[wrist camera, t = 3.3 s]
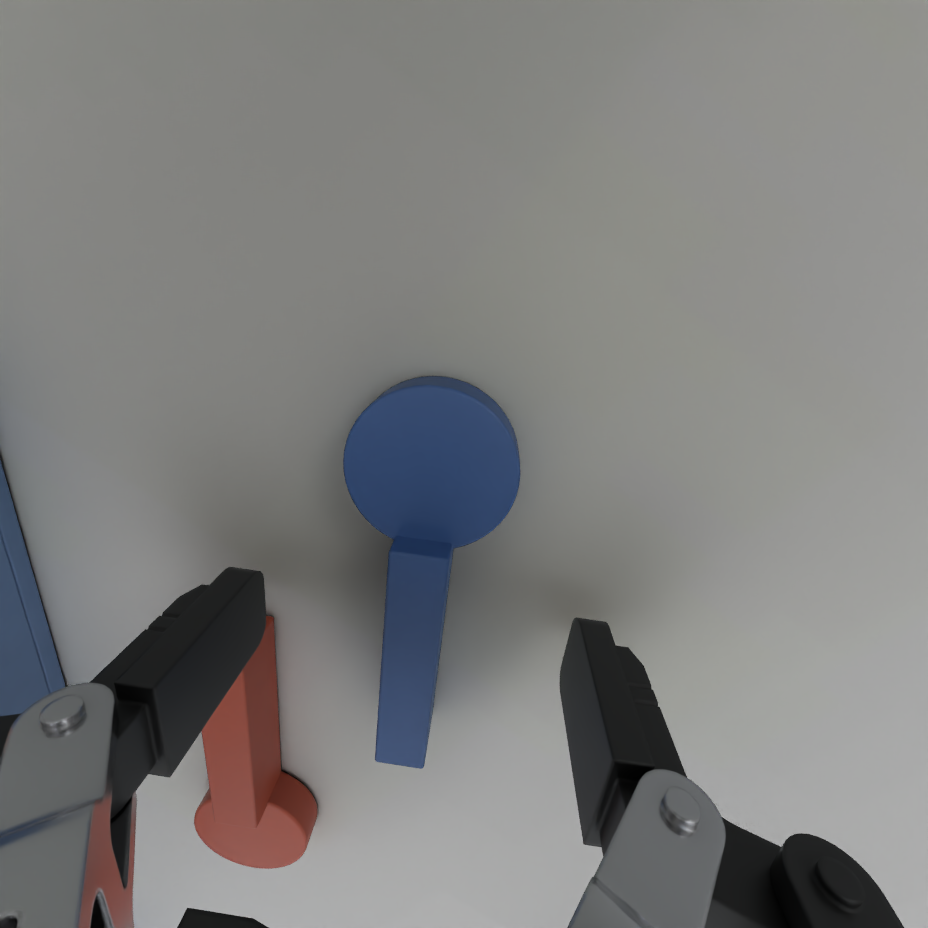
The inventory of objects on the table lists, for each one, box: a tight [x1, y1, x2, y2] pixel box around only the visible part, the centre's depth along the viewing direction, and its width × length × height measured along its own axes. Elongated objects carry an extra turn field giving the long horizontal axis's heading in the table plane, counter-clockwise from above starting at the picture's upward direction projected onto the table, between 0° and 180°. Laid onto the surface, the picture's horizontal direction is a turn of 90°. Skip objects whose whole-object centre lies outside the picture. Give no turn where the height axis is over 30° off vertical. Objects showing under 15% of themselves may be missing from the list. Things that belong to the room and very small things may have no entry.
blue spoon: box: [343, 376, 520, 769], centre depth 11 cm, size 11×4×2 cm, turn 173°
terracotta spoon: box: [194, 616, 317, 868], centre depth 14 cm, size 11×4×2 cm, turn 173°
